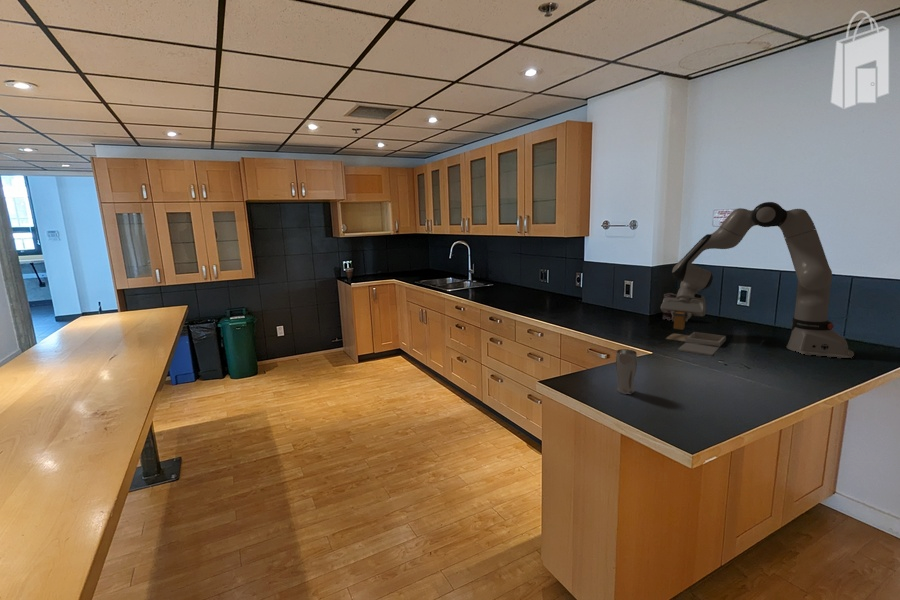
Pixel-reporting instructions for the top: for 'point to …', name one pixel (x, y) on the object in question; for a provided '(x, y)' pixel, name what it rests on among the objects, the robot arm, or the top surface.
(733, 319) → the top surface
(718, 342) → the case
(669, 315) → the supplement box
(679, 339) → the pad
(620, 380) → the beer glass
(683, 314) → the block
